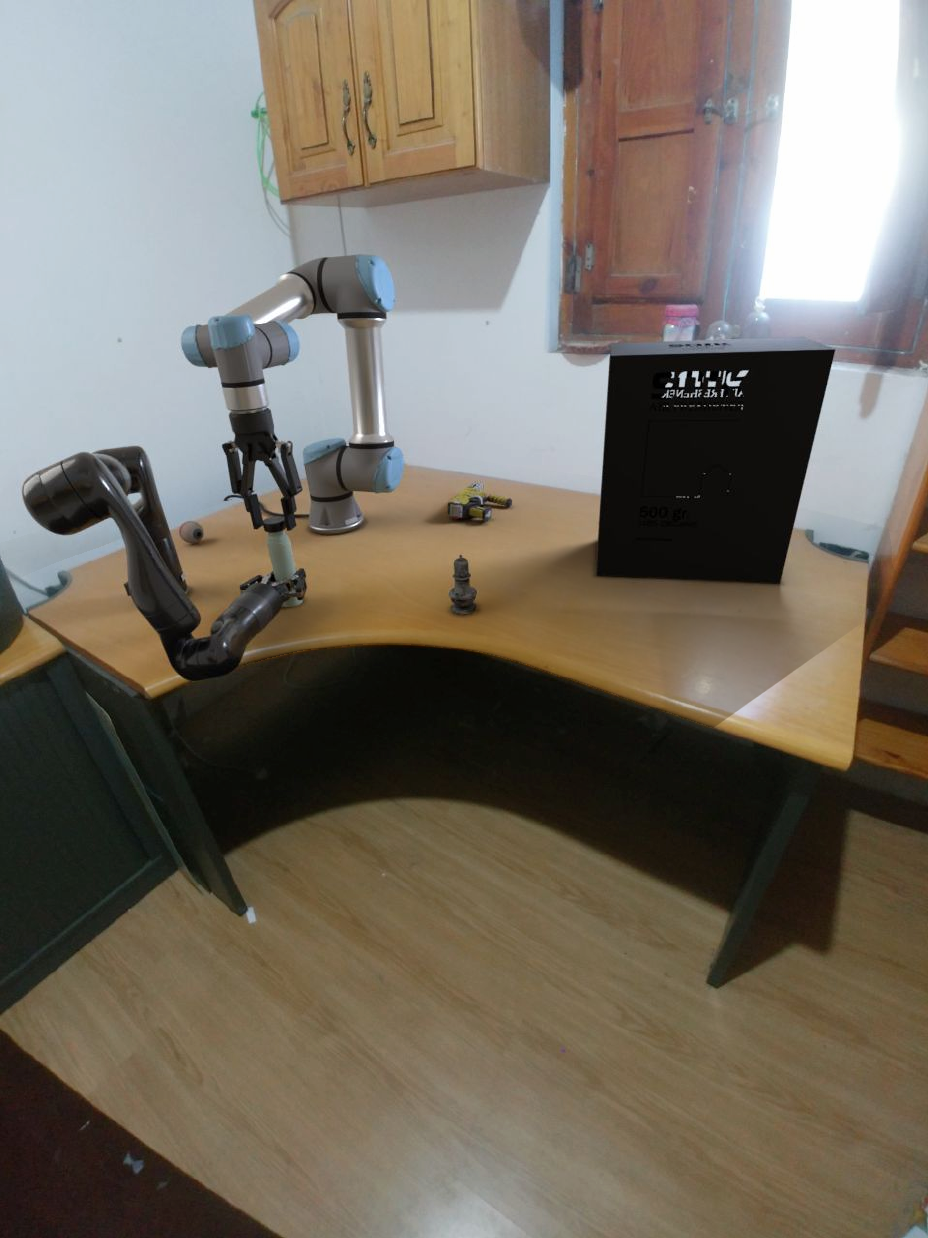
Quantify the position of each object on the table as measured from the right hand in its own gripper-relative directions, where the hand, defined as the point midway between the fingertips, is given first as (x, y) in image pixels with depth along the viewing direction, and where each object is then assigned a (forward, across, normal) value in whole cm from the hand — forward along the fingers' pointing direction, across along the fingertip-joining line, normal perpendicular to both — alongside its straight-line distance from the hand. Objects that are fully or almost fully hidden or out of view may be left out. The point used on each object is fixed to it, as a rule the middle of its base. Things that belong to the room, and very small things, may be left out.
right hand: (275, 527), depth 122 cm
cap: (-1, 0, 0) cm, 1 cm away
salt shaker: (+17, -38, -2) cm, 42 cm away
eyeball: (+17, +43, -28) cm, 54 cm away
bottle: (+17, 0, 0) cm, 17 cm away
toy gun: (+17, -30, -61) cm, 70 cm away
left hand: (+11, 0, -3) cm, 11 cm away
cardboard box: (+17, -82, -31) cm, 90 cm away
